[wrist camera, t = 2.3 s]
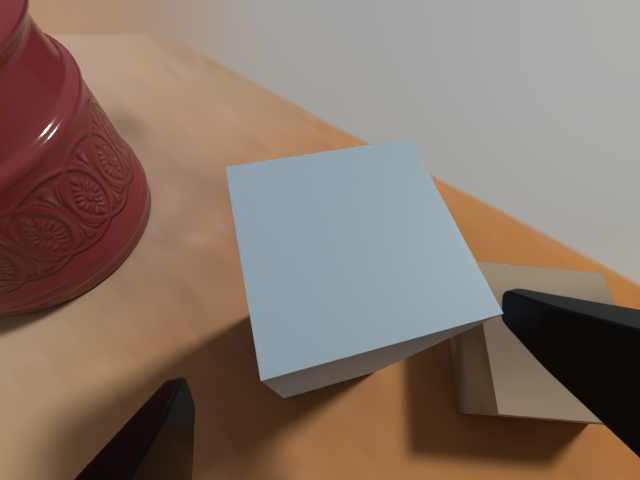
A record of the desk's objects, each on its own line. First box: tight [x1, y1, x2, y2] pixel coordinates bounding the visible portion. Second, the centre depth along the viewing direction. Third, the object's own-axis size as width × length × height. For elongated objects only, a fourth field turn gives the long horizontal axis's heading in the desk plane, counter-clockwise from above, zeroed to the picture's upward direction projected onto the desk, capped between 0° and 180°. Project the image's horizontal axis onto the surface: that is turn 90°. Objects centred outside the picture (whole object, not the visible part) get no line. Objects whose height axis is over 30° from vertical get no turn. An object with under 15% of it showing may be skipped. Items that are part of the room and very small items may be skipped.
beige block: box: [449, 261, 615, 425], centre depth 17 cm, size 7×7×4 cm
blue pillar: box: [226, 139, 504, 398], centre depth 12 cm, size 5×5×12 cm
